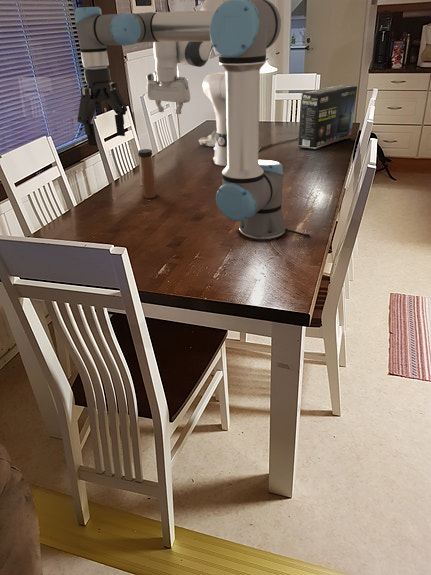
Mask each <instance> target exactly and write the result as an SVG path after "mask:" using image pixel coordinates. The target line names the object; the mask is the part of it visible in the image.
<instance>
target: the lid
mask: <svg viewBox="0 0 431 575" xmlns="http://www.w3.org/2000/svg"><path fill="white" fill-rule="evenodd" d="M137 152H138V153H137V154H138V157H139V158H140V157H150V156H153V150H152V149H150V148H144V149H139V150H138V151H137Z"/></svg>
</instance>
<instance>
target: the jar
mask: <svg viewBox="0 0 431 575" xmlns="http://www.w3.org/2000/svg"><path fill="white" fill-rule="evenodd" d="M152 156H153V155H152ZM152 156H150V157H139V162H140V171H141V179H142V187H143V194H144V198H146V199H154V198H155V197H156V196H157V195H156V184H155V176H154V167H153V158H152Z"/></svg>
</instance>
